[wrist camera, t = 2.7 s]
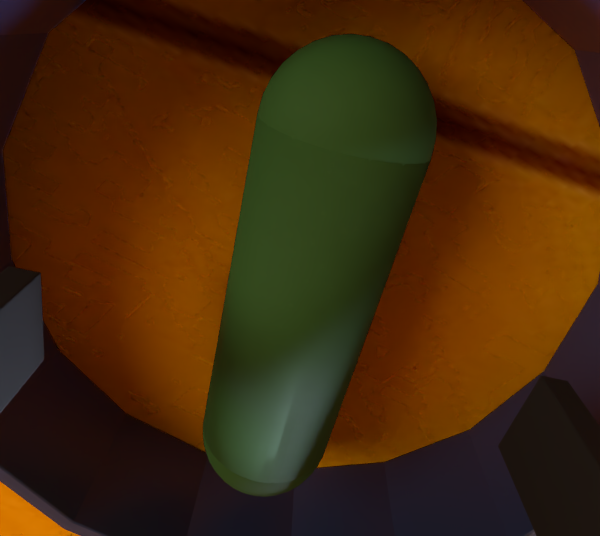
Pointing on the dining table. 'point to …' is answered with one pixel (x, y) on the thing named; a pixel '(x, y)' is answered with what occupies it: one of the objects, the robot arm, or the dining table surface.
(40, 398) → the ring
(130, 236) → the dining table surface
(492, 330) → the dining table surface
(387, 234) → the cucumber
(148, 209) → the dining table surface
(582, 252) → the dining table surface
